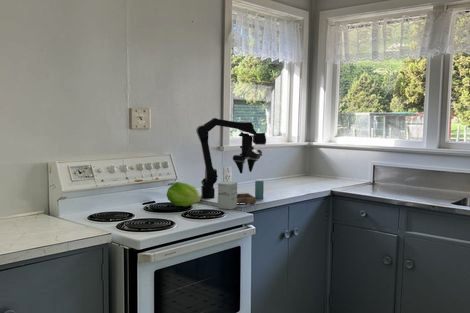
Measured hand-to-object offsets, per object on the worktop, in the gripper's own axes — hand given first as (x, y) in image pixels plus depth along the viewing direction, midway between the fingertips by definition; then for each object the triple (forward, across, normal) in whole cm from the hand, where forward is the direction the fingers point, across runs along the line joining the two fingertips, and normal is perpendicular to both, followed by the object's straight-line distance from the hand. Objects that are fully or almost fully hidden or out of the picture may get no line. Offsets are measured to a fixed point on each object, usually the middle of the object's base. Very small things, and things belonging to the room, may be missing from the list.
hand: (245, 172), depth 261 cm
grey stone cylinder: (+14, -30, -10) cm, 35 cm away
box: (+13, -15, -7) cm, 21 cm away
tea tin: (+13, 0, -10) cm, 16 cm away
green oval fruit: (+14, -42, +7) cm, 45 cm away
